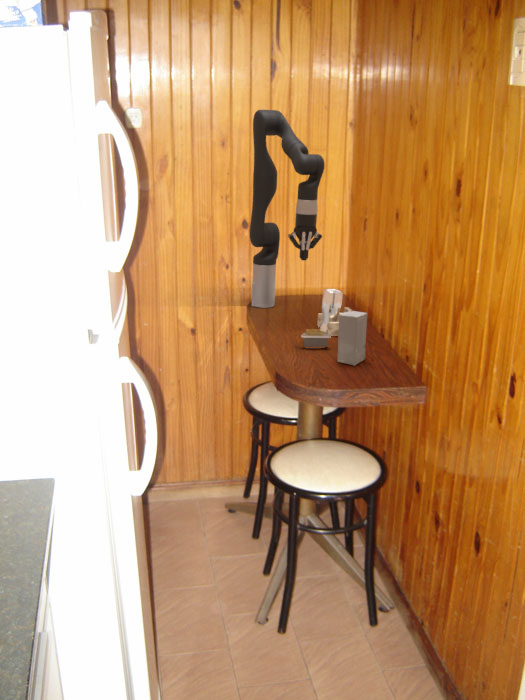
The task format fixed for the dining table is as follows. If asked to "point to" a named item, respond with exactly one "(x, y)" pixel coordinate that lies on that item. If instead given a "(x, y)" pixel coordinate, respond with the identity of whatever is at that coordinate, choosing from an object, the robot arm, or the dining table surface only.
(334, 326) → the bracket
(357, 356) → the skincare box
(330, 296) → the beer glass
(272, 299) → the robot arm
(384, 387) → the dining table surface
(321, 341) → the platform
